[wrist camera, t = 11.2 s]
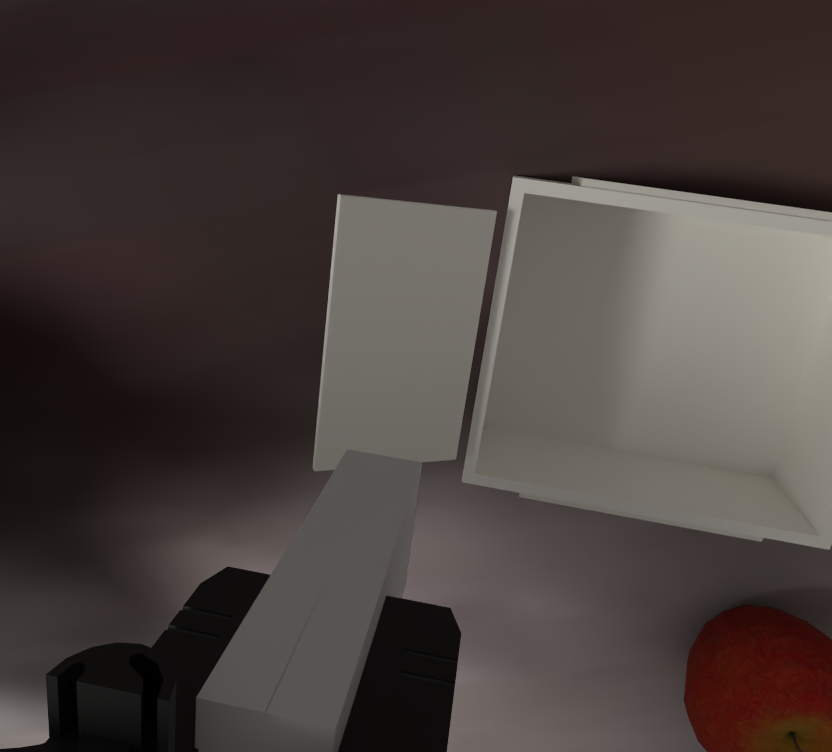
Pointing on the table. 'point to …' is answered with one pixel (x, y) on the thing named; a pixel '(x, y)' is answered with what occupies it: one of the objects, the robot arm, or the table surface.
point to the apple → (760, 683)
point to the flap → (400, 328)
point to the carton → (661, 360)
